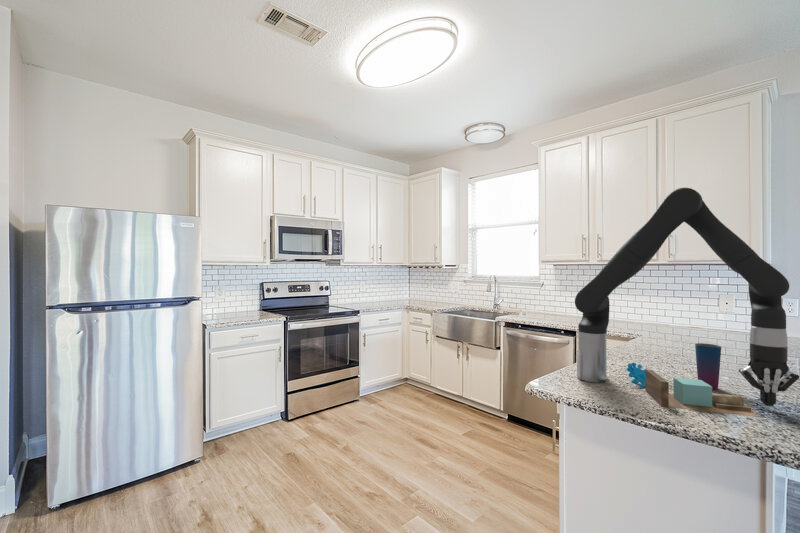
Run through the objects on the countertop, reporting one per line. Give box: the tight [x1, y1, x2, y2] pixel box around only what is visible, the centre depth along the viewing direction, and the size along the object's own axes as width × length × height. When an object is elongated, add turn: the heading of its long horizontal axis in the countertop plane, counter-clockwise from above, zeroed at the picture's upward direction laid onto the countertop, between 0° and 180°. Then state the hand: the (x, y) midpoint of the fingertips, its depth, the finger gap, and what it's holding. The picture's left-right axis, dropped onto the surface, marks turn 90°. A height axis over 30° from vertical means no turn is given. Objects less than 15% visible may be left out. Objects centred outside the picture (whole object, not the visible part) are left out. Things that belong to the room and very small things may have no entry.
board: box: [644, 369, 762, 418], centre depth 108 cm, size 23×14×8 cm, turn 72°
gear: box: [625, 362, 648, 389], centre depth 127 cm, size 11×6×10 cm
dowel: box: [712, 392, 745, 406], centre depth 107 cm, size 8×3×3 cm, turn 72°
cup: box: [694, 342, 722, 391], centre depth 123 cm, size 7×7×15 cm
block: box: [672, 377, 713, 407], centre depth 109 cm, size 7×7×6 cm
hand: (768, 404), depth 103 cm, fingers closed
